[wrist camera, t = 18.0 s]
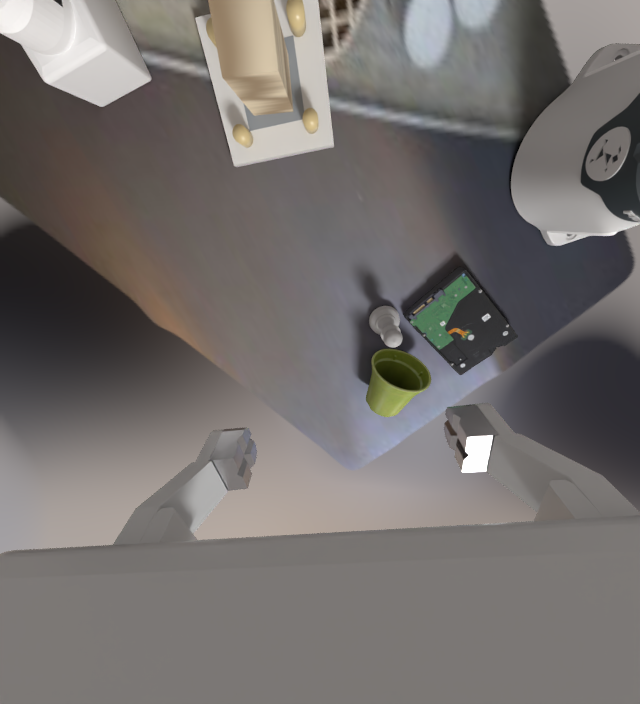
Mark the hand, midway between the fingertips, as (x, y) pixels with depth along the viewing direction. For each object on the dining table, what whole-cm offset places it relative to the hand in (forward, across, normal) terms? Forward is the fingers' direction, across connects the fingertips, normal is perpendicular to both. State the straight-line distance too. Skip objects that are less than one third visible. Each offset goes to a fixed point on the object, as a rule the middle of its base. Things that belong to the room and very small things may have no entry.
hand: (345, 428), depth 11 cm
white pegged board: (+31, +4, -20) cm, 37 cm away
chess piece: (+31, -7, +9) cm, 33 cm away
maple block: (+30, +4, -20) cm, 36 cm away
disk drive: (+32, -18, +11) cm, 38 cm away
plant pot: (+28, -6, +24) cm, 37 cm away
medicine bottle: (+31, +21, -26) cm, 46 cm away
